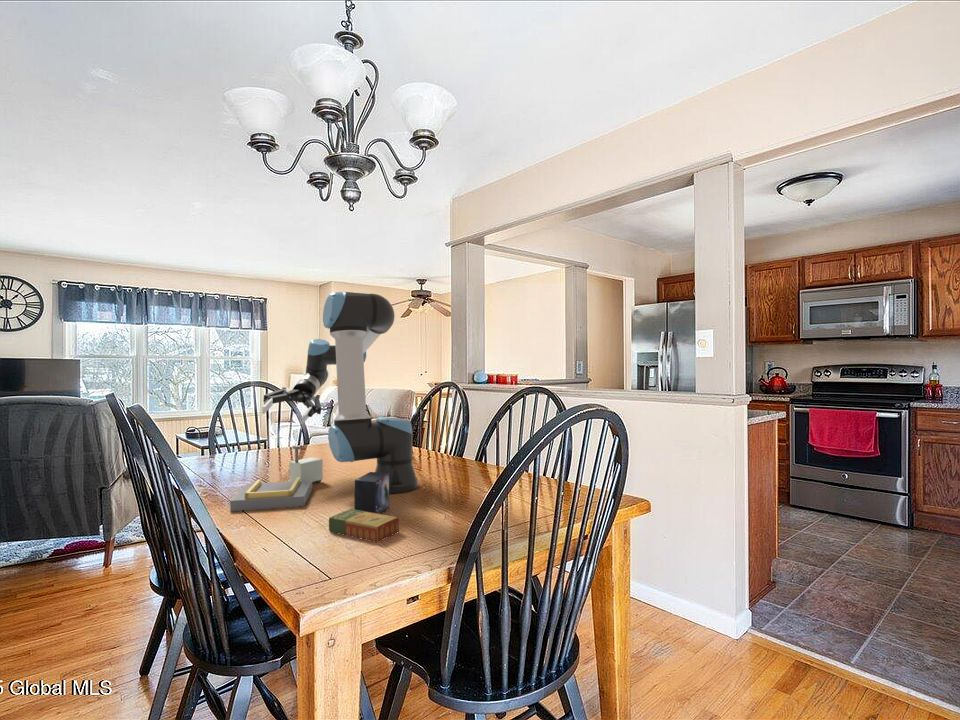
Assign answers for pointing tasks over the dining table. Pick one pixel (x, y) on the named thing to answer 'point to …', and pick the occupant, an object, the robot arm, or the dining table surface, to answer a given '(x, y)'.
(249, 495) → the dock
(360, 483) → the small box
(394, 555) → the dining table surface
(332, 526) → the carton
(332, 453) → the robot arm
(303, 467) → the plunger detonator box
